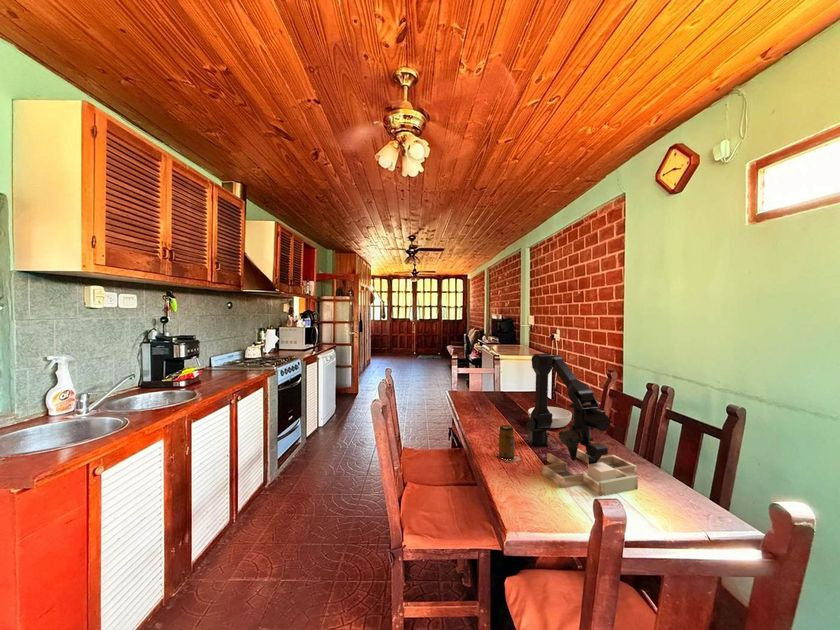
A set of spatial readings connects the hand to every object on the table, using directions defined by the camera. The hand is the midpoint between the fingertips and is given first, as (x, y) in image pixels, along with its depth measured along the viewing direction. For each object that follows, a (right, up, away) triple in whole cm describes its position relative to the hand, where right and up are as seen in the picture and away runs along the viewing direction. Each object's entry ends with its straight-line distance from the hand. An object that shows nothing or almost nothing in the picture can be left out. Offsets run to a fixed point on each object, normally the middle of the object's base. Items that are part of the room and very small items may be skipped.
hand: (581, 465), depth 130 cm
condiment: (-24, -2, +12) cm, 27 cm away
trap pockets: (+1, -2, -4) cm, 4 cm away
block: (+3, -2, -9) cm, 9 cm away
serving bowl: (+7, -1, +51) cm, 51 cm away
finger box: (+1, -2, -4) cm, 4 cm away
